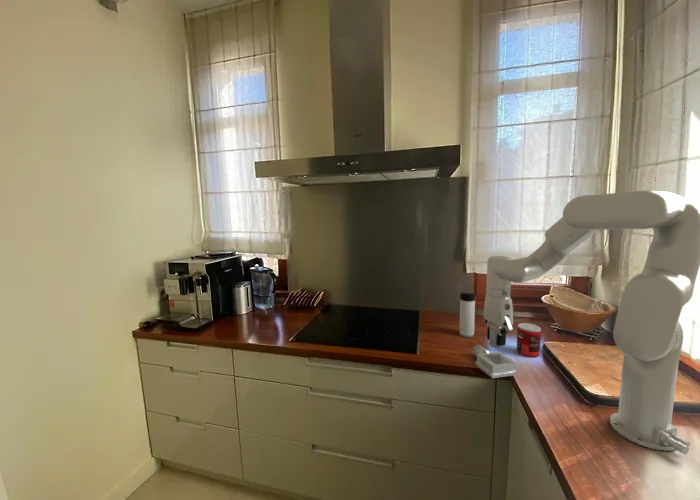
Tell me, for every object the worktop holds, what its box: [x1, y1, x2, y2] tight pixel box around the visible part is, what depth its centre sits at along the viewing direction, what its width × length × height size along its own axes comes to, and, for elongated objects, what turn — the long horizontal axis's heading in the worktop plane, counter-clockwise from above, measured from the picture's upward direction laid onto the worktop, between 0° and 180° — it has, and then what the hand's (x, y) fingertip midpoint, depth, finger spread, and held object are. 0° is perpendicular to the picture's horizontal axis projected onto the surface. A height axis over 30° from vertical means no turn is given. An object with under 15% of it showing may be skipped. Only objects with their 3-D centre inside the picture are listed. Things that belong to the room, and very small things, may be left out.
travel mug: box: [459, 292, 476, 339], centre depth 139 cm, size 6×7×20 cm
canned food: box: [516, 322, 542, 358], centre depth 120 cm, size 8×8×11 cm
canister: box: [488, 322, 504, 349], centre depth 108 cm, size 5×5×8 cm
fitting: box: [472, 344, 519, 379], centre depth 112 cm, size 16×10×4 cm, turn 11°
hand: (496, 341), depth 109 cm, fingers closed on canister, 4 cm apart
